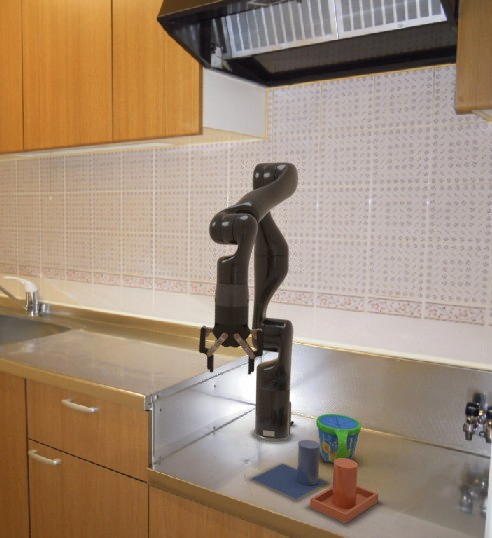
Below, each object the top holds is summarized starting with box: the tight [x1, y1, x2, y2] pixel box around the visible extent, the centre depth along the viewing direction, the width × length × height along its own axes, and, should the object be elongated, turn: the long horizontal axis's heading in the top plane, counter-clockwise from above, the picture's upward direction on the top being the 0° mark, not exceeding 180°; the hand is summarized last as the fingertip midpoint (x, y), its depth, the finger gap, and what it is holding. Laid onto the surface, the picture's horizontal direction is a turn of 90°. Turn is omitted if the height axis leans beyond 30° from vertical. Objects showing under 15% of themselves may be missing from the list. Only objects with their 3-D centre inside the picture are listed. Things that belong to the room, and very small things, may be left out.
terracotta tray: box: [309, 485, 379, 524], centre depth 122 cm, size 13×8×2 cm, turn 130°
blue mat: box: [252, 463, 327, 500], centre depth 133 cm, size 12×12×1 cm
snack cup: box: [315, 413, 362, 465], centre depth 144 cm, size 16×10×10 cm
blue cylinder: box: [296, 439, 321, 486], centre depth 132 cm, size 5×5×9 cm
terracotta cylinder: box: [332, 458, 359, 509], centre depth 122 cm, size 5×5×9 cm
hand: (230, 372), depth 130 cm, fingers open, 8 cm apart
